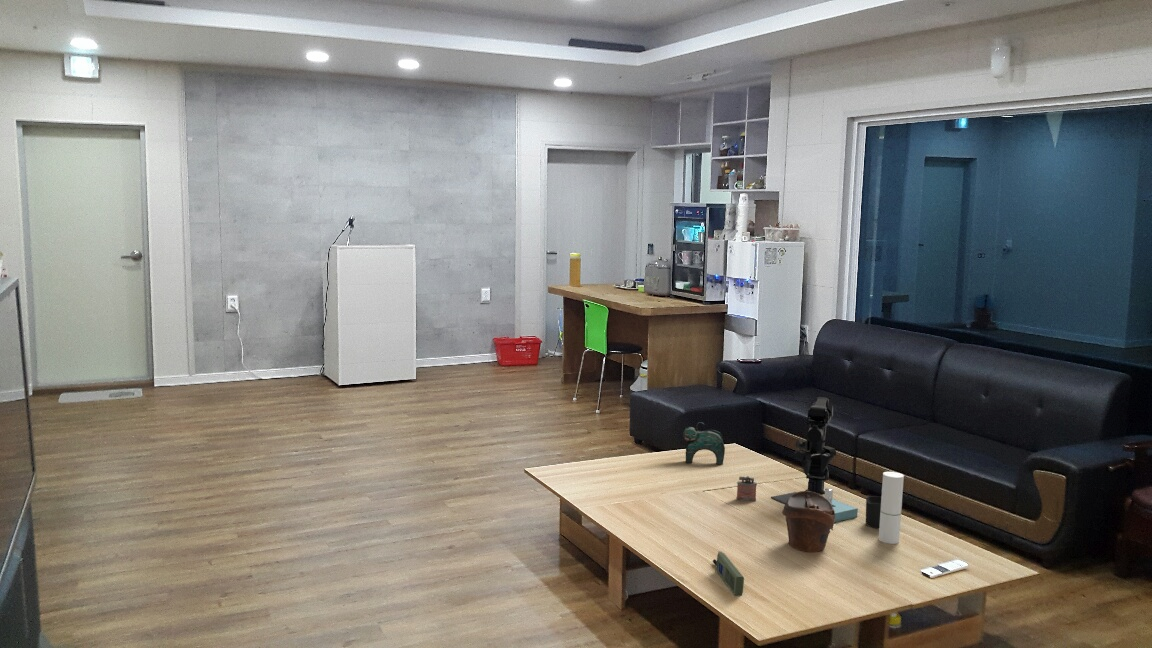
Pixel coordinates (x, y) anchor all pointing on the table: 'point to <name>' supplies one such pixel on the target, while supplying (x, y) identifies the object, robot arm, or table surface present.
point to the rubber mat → (783, 497)
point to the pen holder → (873, 511)
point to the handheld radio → (729, 574)
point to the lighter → (746, 489)
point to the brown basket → (808, 520)
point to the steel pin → (829, 495)
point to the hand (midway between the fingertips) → (814, 473)
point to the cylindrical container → (891, 507)
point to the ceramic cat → (703, 443)
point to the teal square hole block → (843, 510)
